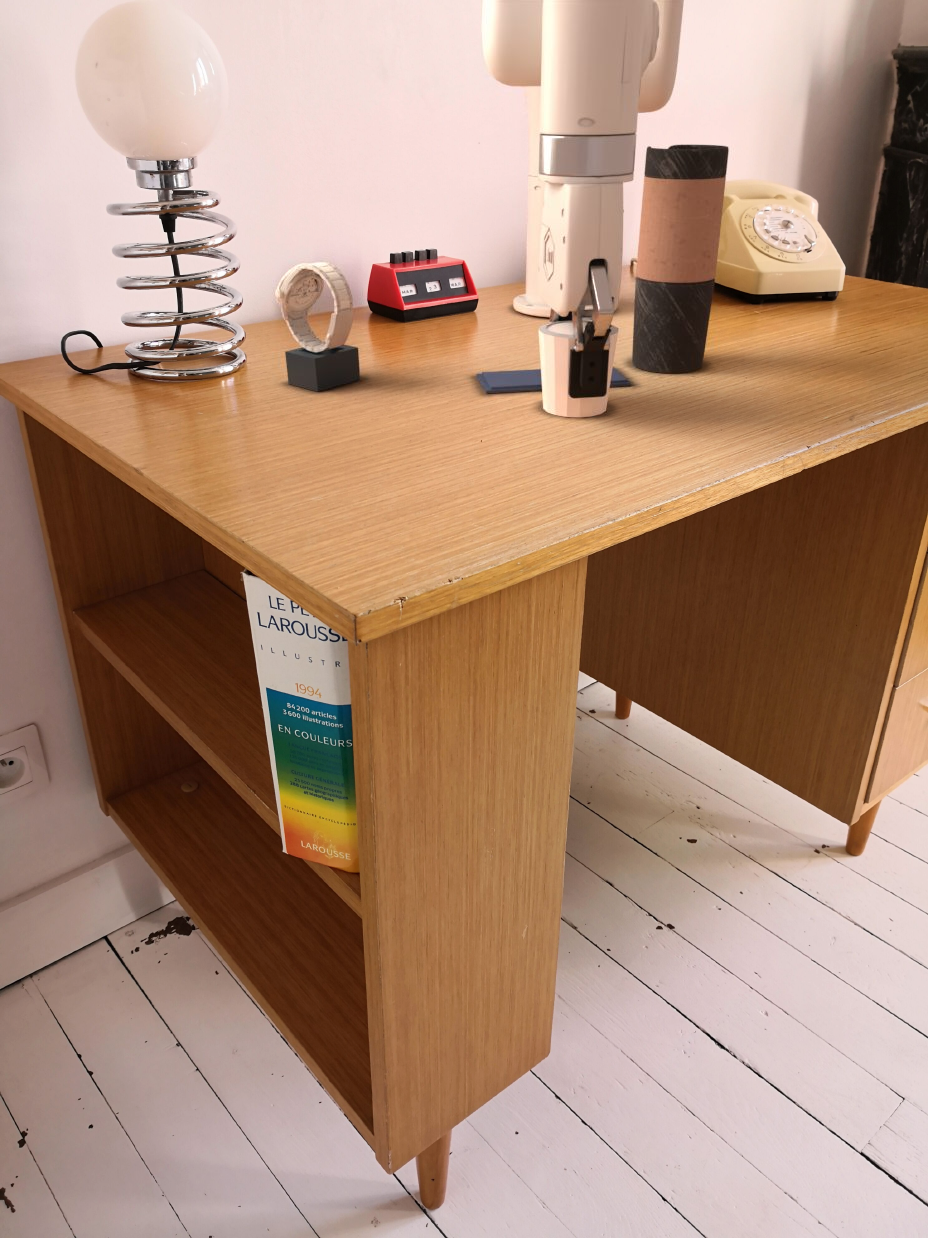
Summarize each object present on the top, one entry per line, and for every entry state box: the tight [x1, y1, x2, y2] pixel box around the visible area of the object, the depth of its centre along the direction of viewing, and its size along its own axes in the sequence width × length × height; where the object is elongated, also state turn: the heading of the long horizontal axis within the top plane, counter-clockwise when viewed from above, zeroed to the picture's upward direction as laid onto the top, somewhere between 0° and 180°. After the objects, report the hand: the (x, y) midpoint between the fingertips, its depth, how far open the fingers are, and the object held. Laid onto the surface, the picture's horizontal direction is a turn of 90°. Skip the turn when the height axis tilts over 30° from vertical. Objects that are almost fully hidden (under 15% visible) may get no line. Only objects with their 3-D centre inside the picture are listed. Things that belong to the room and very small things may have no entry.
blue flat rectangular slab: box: [475, 366, 632, 394], centre depth 92 cm, size 6×14×1 cm, turn 98°
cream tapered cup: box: [538, 321, 619, 418], centre depth 83 cm, size 7×7×7 cm
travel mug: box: [631, 144, 730, 374], centre depth 92 cm, size 8×8×20 cm
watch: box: [274, 261, 361, 393], centre depth 90 cm, size 6×8×11 cm
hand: (575, 382), depth 83 cm, fingers closed on cream tapered cup, 7 cm apart
